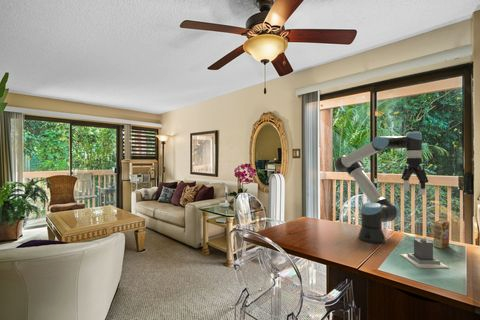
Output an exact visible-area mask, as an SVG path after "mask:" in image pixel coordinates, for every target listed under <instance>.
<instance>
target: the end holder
mask: <svg viewBox="0 0 480 320" xmlns="http://www.w3.org/2000/svg"><path fill="white" fill-rule="evenodd" d="M400 256H401V257H403V258H404V259H405V260H406V261H408V262H410V263H411V264H413V265H414V266H415V267H417V268H419V269H421V268H423V269H424V268H425V269H450V268H449V267H450V266H448V265H446V264H444V263H443V262H441V260H438V259H437V258H436V257H434V256H433V260H419V259H418V258H416V257H415V256H414V252H413V253H412V252H411V253H409V252H408V253H400Z"/></svg>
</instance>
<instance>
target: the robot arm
mask: <svg viewBox="0 0 480 320" xmlns="http://www.w3.org/2000/svg"><path fill="white" fill-rule="evenodd" d="M422 136H423V135H422V132H420V131H408V132H406V134H405V135H404V136H402V135H401V136H387V135H385V136H384V135H380V136H375V137H374V139H372V141H370V142H369V143H367V144H365V145H363V146H362V147H359V148H358V149H356V150H354V151H351V152H350V153H348V154H346V155H345V154H344V155H341V156H339V157H338V158H337V159H336V160H335V162H334V168H335V170H337V171H338V172H341V173H346V174H348V175H349V177H351V178H353V179H354V181H355V182H356V183H357V185H358V186H359V188H360V189H361V190H362V192H363V194H364V195H365V197H366V198H367V199H368V201H369V202H367V203H366V202H365V203H364V204H362V205H361V210H360V213H361V218H360V219H361V227H360V229H359V231H358V239H359V240H361V241H362V242H366V243H369V244H384V243H385V242H386V236H385V234H384V231H383V225H382V224H383V223H388V222H392V221H396V220H397V219H398V218H399V216H400V209H399V207H398V206H397V205H396V204H395V203H392V202H391V201H389V200H388V199H387V197H386V198H385V197H383V196H382V194H381V192H380V191H379V190H378V189H377V187H376V186H375V185H374V183H373V182H372V180H370V178H369V176H368V175H367V174H366V172H365V165H364V164H365V163H364V161H363V160H364V159H365V158H366V159H367V158H369V157H370V156H373V155H375V154H376V153H378V152H381V151H383V150H385V149H393V150H394V149H405V150H406V151H405V155H406V156H405V157H406V160H405V161H406V162H405V163H406V164H405V165H404V169H403V172H402V174H401V178H400V179H402V180H403V191H404V192H410V178H411V176H412V175H413V174H415V176H416V177H417V180H418V181H419V182H418V195H421V196H422V195H425V193H426V184H427V183H429V179H428V176H427V173H426V171H425V166H424V165H422V164H423V158H422V157H423V156H422V155H423V151H422V150H423V149H422V148H423V147H422V146H423V145H422V144H423V142H422V141H423V137H422Z"/></svg>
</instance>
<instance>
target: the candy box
mask: <svg viewBox="0 0 480 320" xmlns="http://www.w3.org/2000/svg"><path fill="white" fill-rule="evenodd" d="M433 223H434V224H433V248H437V249H443V248H447V247H449V246H450V225H451V224H450V221H448V220H443V219H441V220H436V221H434V222H433Z"/></svg>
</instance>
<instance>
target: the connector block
mask: <svg viewBox="0 0 480 320" xmlns="http://www.w3.org/2000/svg"><path fill="white" fill-rule="evenodd" d="M433 245H434V242H432V241H430V240H428V239H427V237H424V236H421V237H420V238H413V253H414V256H415V257H416V258H418V259H419V260H433V257H434V246H433Z"/></svg>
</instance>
